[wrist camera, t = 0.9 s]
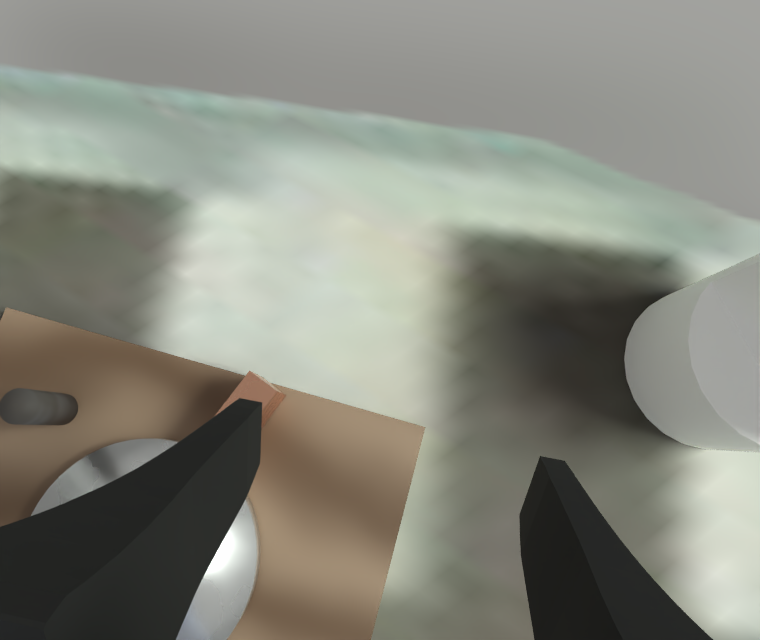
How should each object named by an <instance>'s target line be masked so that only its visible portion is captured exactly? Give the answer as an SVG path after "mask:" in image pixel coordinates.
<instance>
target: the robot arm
mask: <svg viewBox="0 0 760 640" xmlns="http://www.w3.org/2000/svg"><path fill="white" fill-rule="evenodd" d="M261 426H262V402H258V401H252V400H247V399H242V398H239V399H238V400H236V401H235V402H233V403H232V404H230V405H229V406H228V407H226V408H225V409H224V410H222V411H221V412H220V413H218V414H217V415H216V416H214V417H213V418H212V419H210V420H209V421H208V422H206V423H205V424H203V425H202V426H201V427H199V428H198V429H197V430H195V431H194V432H192V433H191V434H189V435H188V436H187V437H185V438H184V439H182V440H181V441H179V442H178V443H176V444H175V445H173V446H172V447H170V448H169V449H167V450H166V451H164V452H162V453H161V454H159V455H158V456H156V457H155V458H153V459H151V460H150V461H148V462H147V463H145V464H143V465H141V466H140V467H138V468H136V469H135V470H133V471H131V472H129V473H127V474H125V475H123V476H121V477H120V478H118V479H116V480H114V481H112V482H110V483H108V484H106V485H104V486H102V487H100V488H97V489H95V490H93V491H91V492H88V493H86V494H84V495H82V496H79V497H77V498H75V499H73V500H71V501H68V502H66V503H64V504H61V505H59V506H56V507H54V508H51V509H49V510H46V511H43V512H41V513H38V514H35V515H33V516H30V517H27V518H24V519H22V520H19V521H16V522H13V523H10V524H7V525H4V526H1V527H0V640H176V638H177V636H178V633H179V631H180V629H181V626H182V624H183V622H184V619H185V617H186V614H187V612H188V610H189V607H190V605H191V603H192V600H193V598H194V596H195V593H196V591H197V589H198V587H199V585H200V583H201V581H202V579H203V577H204V575H205V573H206V571H207V569H208V567H209V566H210V564H211V562H212V560H213V558H214V556H215V555H216V553H217V551H218V549H219V547H220V546H221V544H222V542H223V540H224V538H225V536H226V535H227V533H228V531H229V529H230V527H231V525H232V524H233V522H234V520H235V518H236V516H237V514H238V512H239V511H240V509H241V507H242V505H243V503H244V501H245V499H246V497H247V495H248V493H249V490H250V488H251V485H252V483H253V480H254V478H255V475H256V472H257V470H258V467H259V465H260V457H261ZM520 545H521V558H522V565H523V571H524V577H525V584H526V590H527V596H528V602H529V608H530V614H531V621H532V627H533V633H534V639H535V640H713V639H712V638H711V637H710V636H708V635H707V634H706V633H705V632H704V631H703V630H702V629H701V628H700V627H699V626H698V625H697V624H696V623H695V622H694V621H693V620H692V619H691V618H690V617H689V616H688V615H687V614H686V613H685V612H684V611H683V610H682V609H681V608H680V607H679V606H678V605H677V604H676V603H675V602H674V601H673V600H672V599H671V598H670V597H669V596H668V595H667V594H666V593H665V591H664V590H663V589H662V588H661V587H660V586H659V585H658V584H657V583H656V582H655V581H654V580H653V578H652V577H651V576H650V575H649V574H648V573H647V572H646V570H645V569H644V568H643V567H642V566H641V565H640V563H639V562H638V561H637V560H636V558H635V557H634V556H633V555H632V554H631V552H630V551H629V550H628V549H627V547H626V546H625V545H624V544H623V542H622V541H621V540H620V539H619V537H618V536H617V535H616V533H615V532H614V531H613V529H612V528H611V527H610V525H609V524H608V523H607V521H606V520H605V519H604V517H603V516H602V514H601V513H600V512H599V510H598V509H597V507H596V506H595V505H594V503H593V502H592V500H591V499H590V497H589V496H588V494H587V493H586V491H585V490H584V489H583V487H582V486H581V484H580V483H579V481H578V480H577V478H576V477H575V475H574V474H573V472H572V471H571V469H570V468H569V466H568V465H567V464H566V462H565V461H562V460H557V459H552V458H547V457H541V456H540V458H539V461H538V464H537V467H536V470H535V472H534V475H533V478H532V481H531V484H530V487H529V489H528V492H527V495H526V498H525V501H524V504H523V506H522V509H521V512H520Z"/></svg>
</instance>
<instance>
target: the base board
mask: <svg viewBox="0 0 760 640" xmlns="http://www.w3.org/2000/svg"><path fill="white" fill-rule="evenodd" d="M244 377H245V376H244V375H240V374H237V373H233V372H230V371H226V370H223V369H219V368H216V367H212V366H209V365H205V364H202V363H198V362H195V361H191V360H188V359H184V358H181V357H177V356H174V355H170V354H167V353H163V352H160V351H156V350H153V349H149V348H146V347H142V346H139V345H135V344H132V343H128V342H125V341H121V340H118V339H114V338H111V337H107V336H104V335H100V334H97V333H93V332H90V331H86V330H83V329H79V328H76V327H72V326H69V325H65V324H62V323H58V322H55V321H51V320H48V319H44V318H41V317H37V316H34V315H30V314H27V313H24V312H20V311H17V310H13V309H10V308H6V309H5V311H4V314H3V316H2V318H1V320H0V527H1V526H4V525H7V524H10V523H13V522H16V521H19V520H22V519H24V518H27V517H30V516H31V514H32V513H33V511H34V509H35V507H36V506H37V504H38V502H39V501H40V499H41V498H42V496H43V495H44V494H45V492H46V491H47V490H48V488H49V487H50V486H51V485H52V484H53V483H54V482H55V481H56V480H57V478H58V477H59V476H60V475H61V474H63V473H64V472H65V471H66V470H67V469H68V468H70V467H71V466H72V465H73V464H75V463H76V462H78V461H79V460H81V459H82V458H84V457H85V456H87V455H89V454H91V453H93V452H95V451H97V450H99V449H101V448H104V447H106V446H109V445H112V444H114V443H119V442H123V441H127V440H135V439H146V438H160V439H172V440H177V441H181V440H182V439H184V438H185V437H187V436H188V435H189V434H191V433H192V432H194V431H195V430H197V429H198V428H199V427H201V426H202V425H203V424H205V423H206V422H208V421H209V420H210V419H212V418H213V417H214V416H215V415H216V413H217V412H218V411H219V410H220V408H221V407H222V406H223V404H224V403H225V402H226V401H227V399H228V398H229V397H230V395H231V394H232V393H233V392H234V390H235V389H236V388H237V386H238V385H239V384H240V382H241V381H242V380H243V379H244ZM271 384H272V383H271ZM272 385H273V386H275V387H276V388H277V389H279V390H280V391H281V392H283V393H284V394H286V395H287V396H286V397H285V398H284V400H283V401H282V402H281V404H280V405H279V406H278V408H277V409H276V410H275V412H274V413H273V414H272V416H271V417H270V418H269V420H268V421H267V422H266V424H265V425H264V426H263V428H262V429H261V457H260V465H259V467H258V470H257V472H256V475H255V478H254V480H253V483H252V485H251V488H250V490H249V493H248V496H249V498H250V500H251V502H252V505H253V507H254V511H255V514H256V517H257V521H258V527H259V532H260V547H261V553H260V566H259V571H258V576H257V581H256V585H255V588H254V591H253V594H252V597H251V599H250V601H249V604H248V606H247V608H246V610H245V612H244V614H243V616H242V617H241V619H240V620H239V622H238V624H237V625H236V627H235V628H234V630H233V631H232V633H231V634H230V636H229V637H228V638H227V639H226V640H371V637H372V633H373V629H374V625H375V621H376V617H377V613H378V609H379V605H380V601H381V598H382V594H383V590H384V586H385V582H386V578H387V574H388V570H389V566H390V562H391V559H392V555H393V551H394V547H395V543H396V539H397V535H398V531H399V527H400V524H401V520H402V516H403V512H404V508H405V504H406V500H407V496H408V492H409V488H410V485H411V481H412V477H413V473H414V469H415V465H416V461H417V457H418V453H419V449H420V446H421V442H422V438H423V434H424V430H425V427H422V426H419V425H415V424H412V423H408V422H405V421H401V420H398V419H394V418H391V417H387V416H384V415H380V414H377V413H373V412H370V411H366V410H363V409H359V408H356V407H352V406H349V405H345V404H342V403H338V402H335V401H331V400H328V399H324V398H321V397H317V396H314V395H310V394H307V393H303V392H300V391H296V390H293V389H289V388H286V387H282V386H279V385H275V384H272Z"/></svg>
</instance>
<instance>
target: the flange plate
mask: <svg viewBox="0 0 760 640" xmlns="http://www.w3.org/2000/svg"><path fill="white" fill-rule="evenodd" d="M286 396H287V395H286V394H284V393H283V392H281V391H280V390H279V389H277V388H276V387H275V386H273V385H272V384H271V383H269V382H268V381H267V380H265V379H264V378H263V377H261V376H259V375H257V374H255V373H253V372H251V371H249V372H248V373H247V375H246V376H245V377H244V379H243V380H242V381H241V382H240V384H239V385H238V386H237V388H236V389H235V390H234V392H233V393H232V394H231V395H230V397H229V398H228V399H227V401H226V402H225V403H224V404H223V406H222V407H221V408H220V410H219V411H218V412H217V413H216V415H217V414H218V413H220V412H221V411H222V410H224V409H225V408H226V407H228V406H229V405H230V404H232V403H233V402H235V401H236V400H238V399H239V398H242V399H247V400H252V401H258V402H262V426H261V429H262V428H263V426H264V425H265V424H266V422H267V421H268V420H269V418H270V417H271V416H272V414H273V413H274V412H275V410H276V409H277V408H278V406H279V405H280V404H281V402H282V401H283V400H284V398H285V397H286ZM216 415H215V416H216ZM178 442H179V441H177V440H172V439H160V438H146V439H135V440H127V441H123V442H119V443H114V444H112V445H109V446H106V447H104V448H101V449H99V450H97V451H95V452H93V453H91V454H89V455H87V456H85V457H84V458H82V459H81V460H79V461H78V462H76V463H75V464H73V465H72V466H71V467H70V468H68V469H67V470H66V471H65V472H64V473H63V474H61V475H60V476H59V477H58V478H57V480H56V481H55V482H54V483H53V484H52V485H51V486H50V487H49V488H48V490H47V491H46V492H45V494H44V495H43V496H42V498H41V499H40V501H39V502H38V504H37V506H36V507H35V509H34V511H33V513H32V514H31V516H33V515H35V514H38V513H41V512H43V511H46V510H49V509H51V508H54V507H56V506H59V505H61V504H64V503H66V502H68V501H71V500H73V499H75V498H77V497H79V496H82V495H84V494H86V493H88V492H91V491H93V490H95V489H97V488H100V487H102V486H104V485H106V484H108V483H110V482H112V481H114V480H116V479H118V478H120V477H121V476H123V475H125V474H127V473H129V472H131V471H133V470H135V469H136V468H138V467H140V466H141V465H143V464H145V463H147V462H148V461H150V460H151V459H153V458H155V457H156V456H158V455H159V454H161V453H162V452H164V451H166V450H167V449H169V448H170V447H172V446H173V445H175V444H176V443H178ZM260 553H261V547H260V532H259V527H258V521H257V517H256V514H255V511H254V507H253V505H252V502H251V500H250V498H249V496H248V495H247V497H246V499H245V501H244V503H243V505H242V507H241V509H240V511H239V512H238V514H237V516H236V518H235V520H234V522H233V524H232V525H231V527H230V529H229V531H228V533H227V535H226V536H225V538H224V540H223V542H222V544H221V546H220V547H219V549H218V551H217V553H216V555H215V556H214V558H213V560H212V562H211V564H210V566H209V567H208V569H207V571H206V573H205V575H204V577H203V579H202V581H201V583H200V585H199V587H198V589H197V591H196V593H195V596H194V598H193V600H192V603H191V605H190V607H189V610H188V612H187V614H186V617H185V619H184V622H183V624H182V626H181V629H180V631H179V633H178V636H177V638H176V640H226V639H227V638H228V637H229V636H230V634H231V633H232V631H233V630H234V628H235V627H236V625H237V624H238V622H239V620H240V619H241V617H242V616H243V614H244V612H245V610H246V608H247V606H248V604H249V601H250V599H251V597H252V594H253V591H254V588H255V585H256V581H257V576H258V571H259V566H260Z"/></svg>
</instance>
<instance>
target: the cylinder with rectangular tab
mask: <svg viewBox="0 0 760 640" xmlns="http://www.w3.org/2000/svg"><path fill="white" fill-rule="evenodd" d="M624 362H625V371H626V380H627V382H628V385H629V388H630V390H631V393H632V395H633V398H634V400H635V402H636V403H637V405H638V406H639V408H640V409H641V411H642V412H643V413H644V415H645V416H646V418H647V419H648V420H649V421H650V422H652V423H653V424H654V425H655V426H656V427H657V428H658V429H659V430H660V431H661V432H663V433H664V434H666V435H668V436H669V437H671V438H673V439H675V440H677V441H679V442H680V443H682V444H685V445H689V446H693V447H697V448H701V449H708V450H726V451H744V452H760V254H758V255H756V256H754V257H751V258H749V259H747V260H745V261H742V262H740V263H738V264H736V265H734V266H731V267H729V268H727V269H725V270H722V271H720V272H718V273H716V274H714V275H711V276H709V277H707V278H705V279H702V280H700V281H698V282H696V283H694V284H691V285H689V286H687V287H685V288H682V289H680V290H678V291H676V292H674V293H671V294H669V295H667V296H665V297H663V298H661V299H660V300H658V301H656V302H655V303H653V304H652V305H650V306H648V307H647V308H646V309H645V311H644V312H643V313H642V314H641V315H640V316H639V317H638V318H637V320H636V321H635V323H634V325H633V327H632V329H631V331H630V333H629V336H628V338H627V343H626V349H625V356H624Z"/></svg>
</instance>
